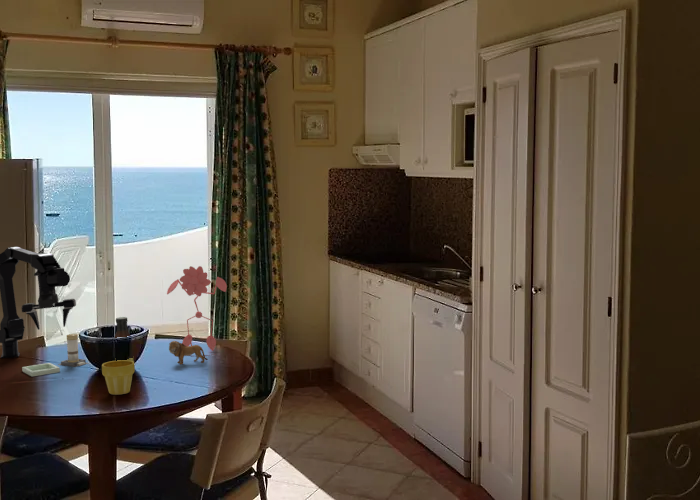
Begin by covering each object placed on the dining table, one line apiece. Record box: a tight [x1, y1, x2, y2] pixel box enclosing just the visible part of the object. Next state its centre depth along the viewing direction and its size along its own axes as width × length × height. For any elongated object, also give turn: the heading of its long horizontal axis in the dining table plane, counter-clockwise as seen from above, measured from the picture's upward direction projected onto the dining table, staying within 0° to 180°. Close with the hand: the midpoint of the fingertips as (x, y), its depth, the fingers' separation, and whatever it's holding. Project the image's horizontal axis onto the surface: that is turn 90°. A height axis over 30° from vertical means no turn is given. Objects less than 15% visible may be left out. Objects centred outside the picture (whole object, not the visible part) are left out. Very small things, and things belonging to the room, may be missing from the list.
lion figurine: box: [168, 340, 209, 365], centre depth 307 cm, size 15×5×9 cm, turn 113°
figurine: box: [166, 265, 228, 357], centre depth 324 cm, size 15×26×35 cm, turn 80°
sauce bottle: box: [113, 316, 135, 363], centre depth 294 cm, size 7×6×20 cm
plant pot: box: [101, 360, 136, 396], centre depth 267 cm, size 10×10×10 cm
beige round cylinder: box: [66, 333, 80, 363], centre depth 304 cm, size 4×4×11 cm
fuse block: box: [57, 358, 89, 368], centre depth 305 cm, size 9×7×2 cm
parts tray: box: [21, 362, 61, 377], centre depth 293 cm, size 10×10×2 cm
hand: (51, 328), depth 305 cm, fingers open, 9 cm apart
